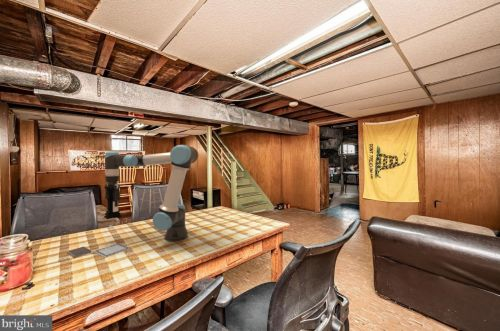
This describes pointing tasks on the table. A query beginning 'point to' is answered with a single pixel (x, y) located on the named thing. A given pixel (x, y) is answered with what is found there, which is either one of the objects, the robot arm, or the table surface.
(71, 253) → the ink pad
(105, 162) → the robot arm
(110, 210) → the chess piece
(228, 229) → the table surface
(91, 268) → the table surface
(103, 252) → the print sheet
